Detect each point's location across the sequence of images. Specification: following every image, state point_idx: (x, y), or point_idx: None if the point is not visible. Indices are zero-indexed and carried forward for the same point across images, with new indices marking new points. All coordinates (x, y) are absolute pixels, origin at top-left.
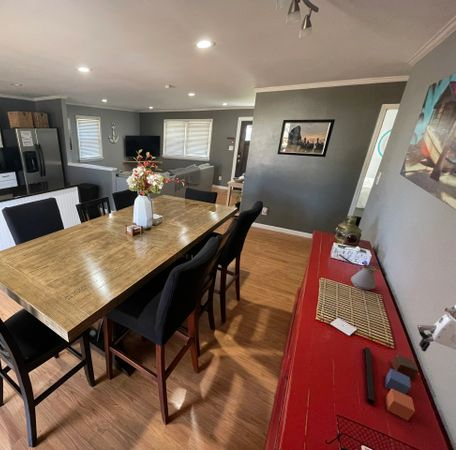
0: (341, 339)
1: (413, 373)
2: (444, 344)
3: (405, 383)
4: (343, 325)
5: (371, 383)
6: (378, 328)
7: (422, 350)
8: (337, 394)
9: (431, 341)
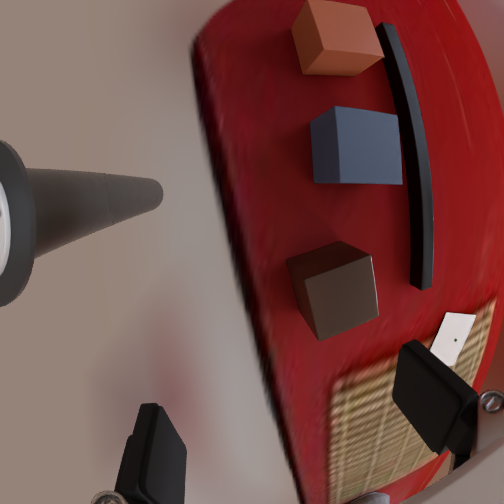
0: (462, 271)
1: (306, 267)
2: (466, 483)
3: (353, 119)
4: (449, 345)
5: (407, 86)
6: (361, 425)
7: (416, 340)
8: (427, 26)
9: (476, 427)
